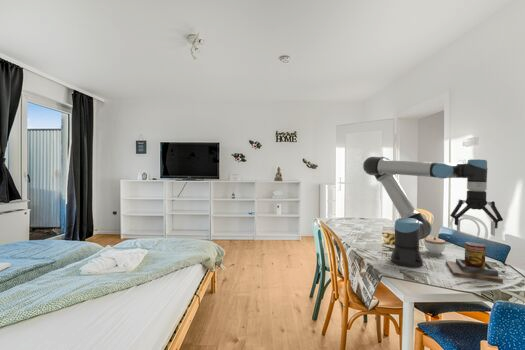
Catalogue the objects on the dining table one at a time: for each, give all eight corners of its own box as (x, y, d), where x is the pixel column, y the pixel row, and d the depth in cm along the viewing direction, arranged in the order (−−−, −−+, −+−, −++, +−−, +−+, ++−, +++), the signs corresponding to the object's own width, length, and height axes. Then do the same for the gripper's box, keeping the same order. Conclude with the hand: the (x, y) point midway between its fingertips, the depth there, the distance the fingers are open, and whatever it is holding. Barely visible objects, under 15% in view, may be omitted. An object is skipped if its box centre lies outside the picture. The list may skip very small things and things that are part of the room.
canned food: (463, 267, 129) (463, 243, 129) (465, 263, 135) (466, 240, 135) (484, 272, 124) (484, 247, 124) (485, 268, 129) (486, 243, 129)
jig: (453, 275, 124) (454, 268, 124) (445, 263, 140) (445, 257, 140) (502, 282, 116) (503, 274, 116) (488, 268, 133) (488, 261, 133)
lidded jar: (442, 256, 152) (442, 240, 152) (421, 252, 160) (421, 237, 160) (447, 252, 159) (447, 237, 159) (427, 248, 167) (427, 234, 167)
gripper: (447, 189, 131) (446, 232, 131) (513, 192, 120) (511, 238, 121) (444, 188, 137) (443, 228, 138) (506, 191, 127) (504, 234, 128)
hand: (475, 233), depth 129 cm, fingers open, 13 cm apart
